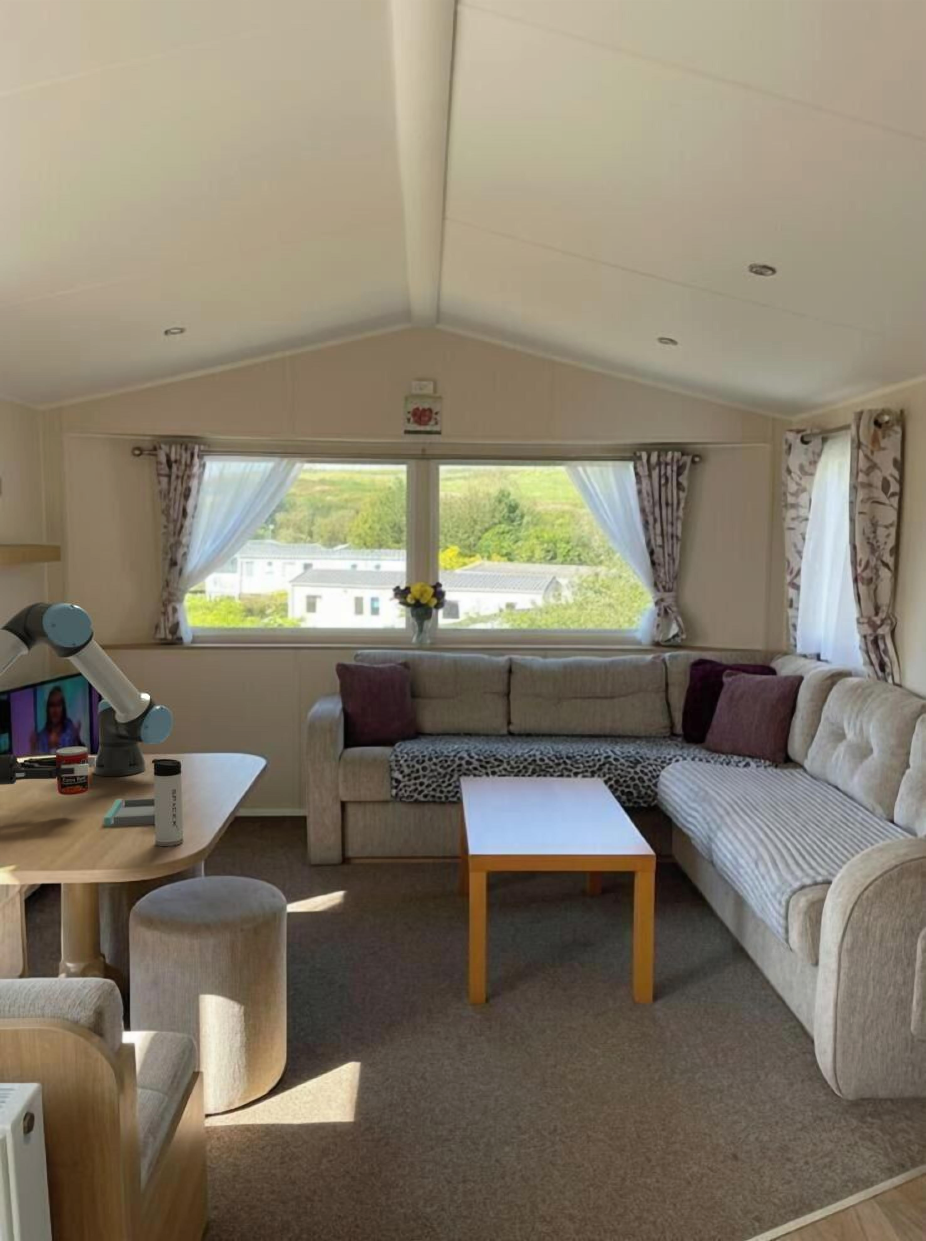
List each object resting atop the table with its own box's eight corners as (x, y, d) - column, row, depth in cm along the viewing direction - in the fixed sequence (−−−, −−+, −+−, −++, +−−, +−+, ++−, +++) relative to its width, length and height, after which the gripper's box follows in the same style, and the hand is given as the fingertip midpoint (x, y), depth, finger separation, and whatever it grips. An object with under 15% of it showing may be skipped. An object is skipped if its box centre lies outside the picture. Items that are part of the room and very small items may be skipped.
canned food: (59, 796, 245) (57, 754, 244) (56, 789, 252) (54, 748, 251) (91, 792, 248) (89, 751, 247) (87, 785, 255) (85, 745, 254)
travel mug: (157, 839, 230) (155, 757, 228) (185, 838, 230) (183, 756, 229) (151, 847, 224) (148, 762, 222) (180, 846, 224) (178, 762, 223)
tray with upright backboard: (117, 807, 258) (116, 770, 257) (174, 804, 261) (174, 768, 260) (104, 826, 240) (103, 787, 240) (166, 823, 243) (165, 784, 242)
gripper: (10, 774, 257) (100, 770, 261) (-14, 795, 236) (84, 790, 240) (9, 747, 256) (99, 743, 260) (-15, 765, 236) (82, 760, 240)
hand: (91, 765), depth 250 cm, fingers closed on canned food, 8 cm apart
